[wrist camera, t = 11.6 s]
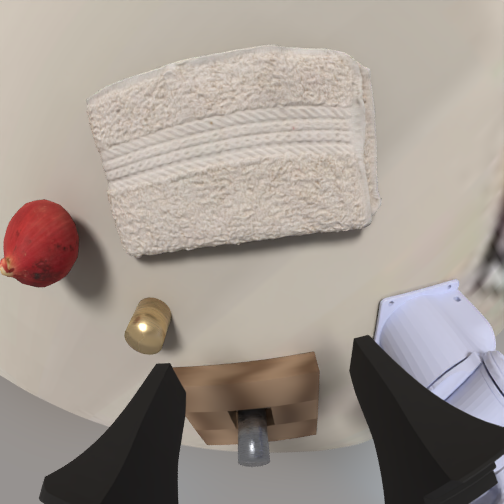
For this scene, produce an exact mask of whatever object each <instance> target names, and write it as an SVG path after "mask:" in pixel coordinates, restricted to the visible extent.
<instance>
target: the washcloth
mask: <svg viewBox="0 0 504 504" xmlns="http://www.w3.org/2000/svg"><path fill="white" fill-rule="evenodd" d="M86 102H87V113H88V118H89V124H90V125H91V130H92V134H93V137H94V140H95V145H96V147H97V150H98V151H99V152H100V155H101V160H102V163H103V168H104V171H105V175H106V178H107V180H108V182H109V185H108V190H107V195H108V200H109V202H110V207H111V212H112V215H113V218H114V220H115V223H116V224H115V226H116V228H117V230H118V232H119V236H120V239H121V243H122V245H123V248H124V250H125V251H126V253H127V254H129V255H130V256H136V257H137V258H138V257H141V256H142V255H156V254H161V253H163V252H176V251H180V250H182V249H186V250H193V249H195V248H202V247H206V246H212V247H215V246H218V245H222V244H235V245H240V244H241V243H244V242H250V241H253V240H255V241H257V240H260V241H261V240H264V239H268V238H269V239H272V240H273V239H277V238H282V237H285V236H291V235H293V236H295V235H300V236H302V235H304V234H311V233H317V232H321V233H325V232H333V231H334V232H339V231H348V230H349V229H360V230H361V229H362V227H366V226H368V225H370V224H371V222H372V216H374V214H375V213H376V212H377V210H378V209H379V207H380V206H381V200H382V199H381V198H380V194H379V191H378V181H377V145H376V128H375V108H374V100H373V92H372V85H371V78H370V69H369V68H367V67H363V66H362V65H361V64H360V63H359V62H356V60H354V59H353V57H352V56H350V55H348V54H346V53H344V52H340V51H335V50H329V49H311V48H296V47H280V46H277V45H262V46H256V47H251V48H244V49H238V50H232V51H227V52H222V53H216V54H210V55H205V56H200V57H193V58H190V59H183V60H180V61H177V62H174V63H171V64H167V65H164V66H163V67H160V68H157V69H154V70H151V71H148V72H145V73H142V74H138V75H135V76H132V77H130V78H125V79H123V80H121V81H118V82H116V83H114V84H111V85H108V86H106V87H104V88H102V89H101V90H99V91H98V92H96V93H95V94H93V95H92V96H91V97H89V98H87V99H86Z"/></svg>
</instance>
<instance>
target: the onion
mask: <svg viewBox="0 0 504 504" xmlns="http://www.w3.org/2000/svg"><path fill="white" fill-rule="evenodd" d="M78 248H79V236H78V233H77V229H76V226H75V223H74V222H73V220H72V218H71V216H70V215H69V213H68V212H67V211H66V210H65V209H64V208H63V207H62V206H61V205H59V204H56V203H54V202H51V201H48V200H45V199H44V200H37V201H32V202H29V203H26V204H25V205H24V206H23V207H21V208H20V209H19V210H18V211H17V213H16V214H15V215H14V216H13V217H12V219H11V221H10V222H9V224H8V227H7V230H6V234H5V237H4V258H3V259H1V261H0V270H1V273H2V274H3V275H5V276H7V277H14V278H15V279H17V280H18V281H19V282H21V283H22V284H26V285H30V286H34V287H46V286H49V285H51V284H53V283H55V282H57V281H59V280H61V279H62V278H64V277H65V276H67V274H68V273H69V271H70V270H71V268H72V266H73V264H74V263H75V261H76V259H77V257H78Z"/></svg>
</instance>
